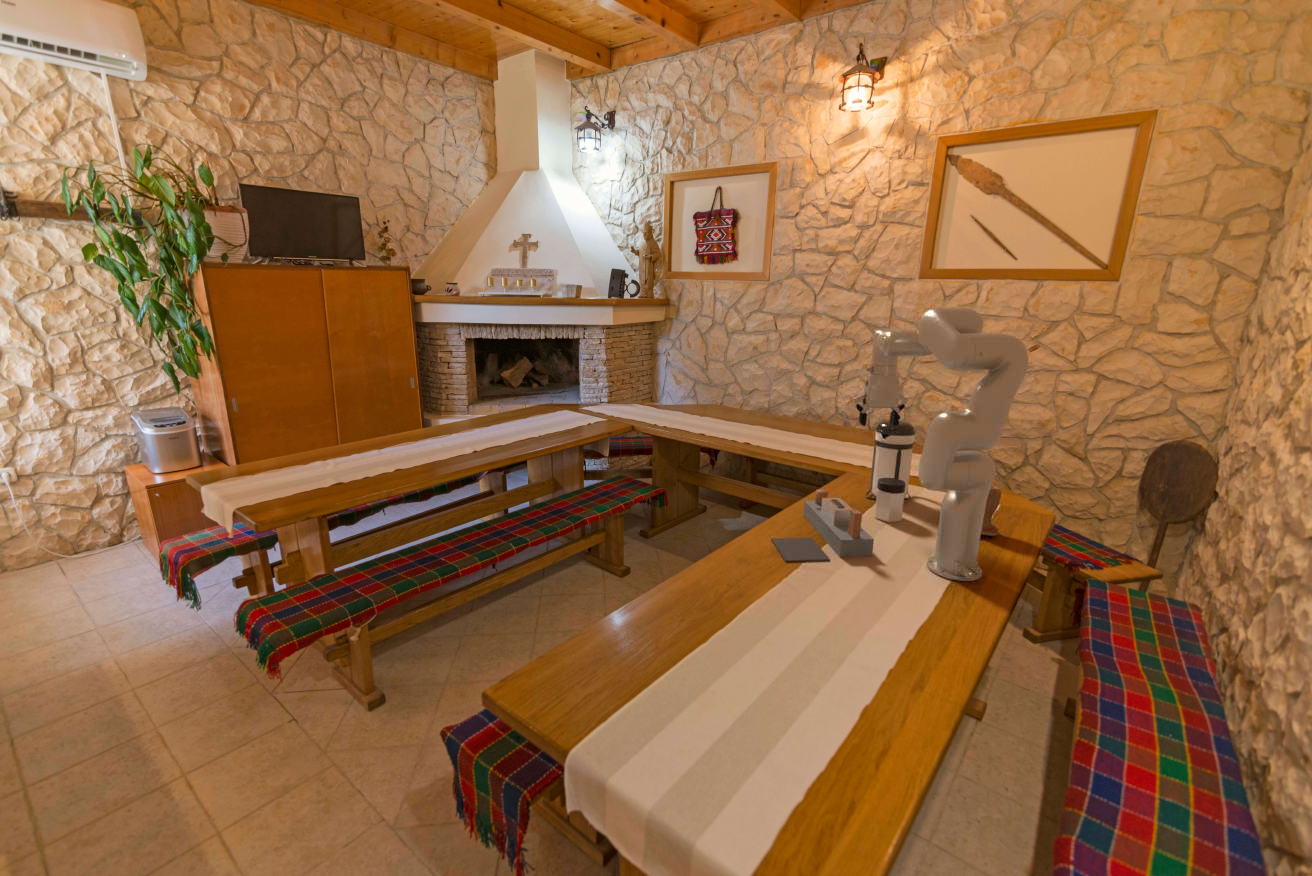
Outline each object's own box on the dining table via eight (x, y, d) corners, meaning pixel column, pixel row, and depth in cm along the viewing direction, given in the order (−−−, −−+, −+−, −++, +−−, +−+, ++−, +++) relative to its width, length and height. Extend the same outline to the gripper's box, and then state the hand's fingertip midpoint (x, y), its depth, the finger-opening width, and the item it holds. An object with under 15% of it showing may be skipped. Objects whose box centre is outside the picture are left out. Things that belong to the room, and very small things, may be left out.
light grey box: (852, 524, 161) (853, 508, 160) (833, 525, 161) (834, 509, 159) (838, 511, 171) (840, 496, 169) (821, 512, 170) (822, 497, 169)
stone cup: (997, 528, 172) (1005, 481, 168) (997, 542, 162) (1005, 492, 158) (942, 518, 179) (948, 473, 176) (939, 531, 170) (945, 483, 166)
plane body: (872, 556, 153) (876, 514, 150) (839, 557, 152) (843, 515, 149) (830, 514, 182) (833, 479, 179) (803, 515, 181) (806, 479, 178)
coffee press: (919, 507, 189) (930, 419, 181) (869, 504, 191) (878, 417, 184) (905, 490, 205) (915, 409, 198) (860, 488, 208) (867, 407, 200)
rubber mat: (829, 560, 150) (829, 559, 150) (785, 562, 149) (785, 560, 149) (811, 539, 163) (811, 537, 163) (771, 540, 162) (771, 538, 162)
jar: (907, 518, 179) (912, 482, 176) (894, 524, 174) (898, 487, 171) (881, 510, 186) (885, 475, 183) (867, 516, 181) (871, 480, 178)
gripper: (860, 372, 170) (855, 427, 174) (916, 372, 171) (910, 427, 175) (851, 369, 177) (846, 422, 181) (904, 369, 178) (898, 422, 182)
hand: (877, 424), depth 178 cm, fingers open, 9 cm apart
